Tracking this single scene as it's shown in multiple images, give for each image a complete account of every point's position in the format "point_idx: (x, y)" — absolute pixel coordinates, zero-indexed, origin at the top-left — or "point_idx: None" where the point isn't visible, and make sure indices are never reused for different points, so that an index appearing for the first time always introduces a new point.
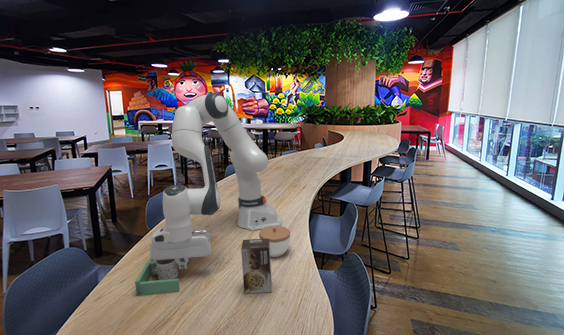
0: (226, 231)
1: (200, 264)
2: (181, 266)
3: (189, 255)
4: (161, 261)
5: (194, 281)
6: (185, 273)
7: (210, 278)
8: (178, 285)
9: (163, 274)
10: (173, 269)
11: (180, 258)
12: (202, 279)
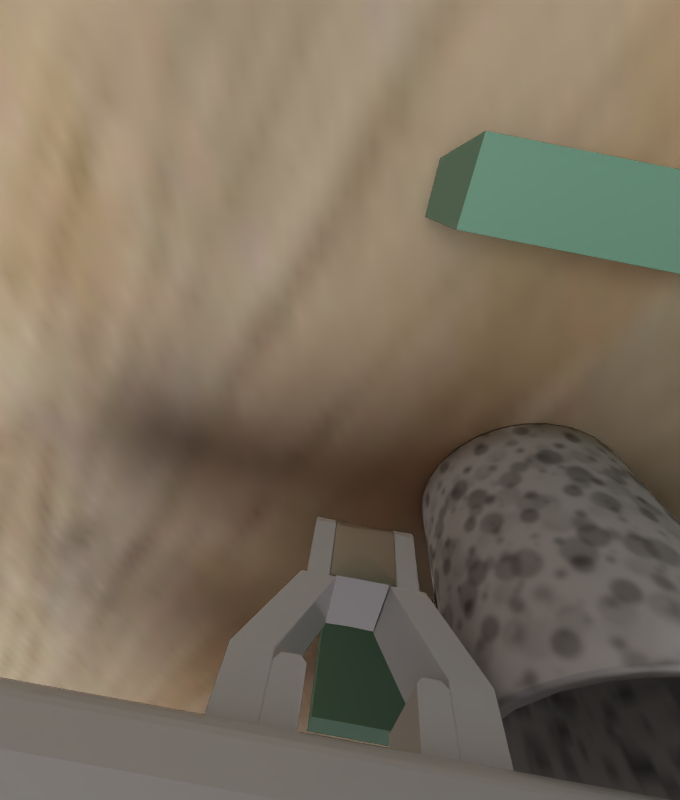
0: None
1: (223, 569)
2: (379, 558)
3: (106, 792)
4: (649, 725)
5: (246, 330)
6: (350, 498)
7: (69, 326)
8: (451, 165)
9: (638, 501)
10: (497, 541)
11: (387, 682)
12: (159, 338)
